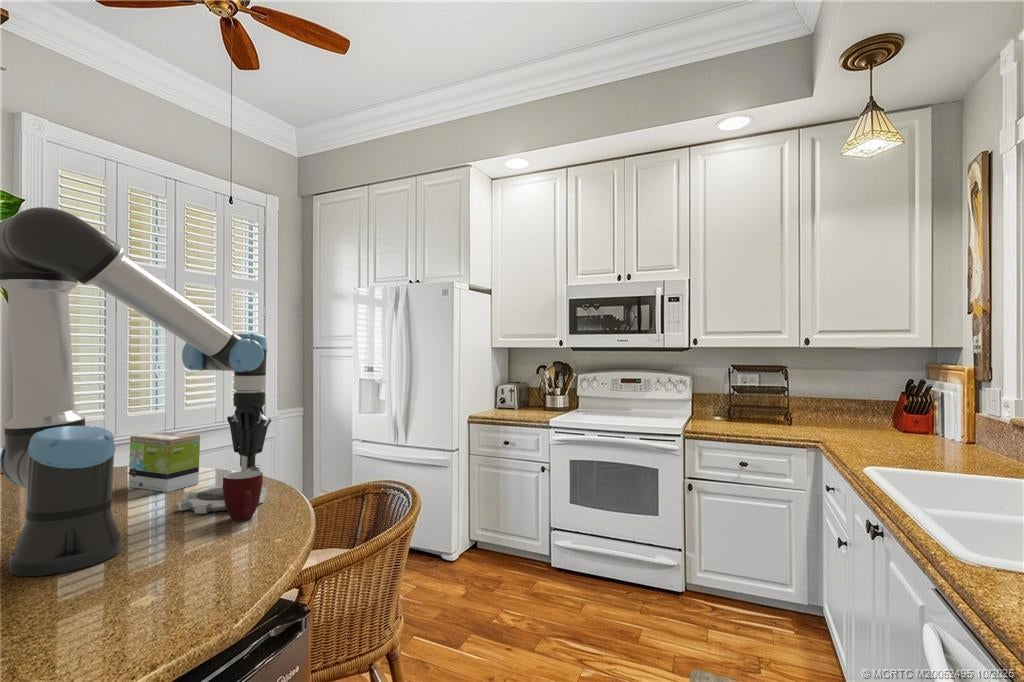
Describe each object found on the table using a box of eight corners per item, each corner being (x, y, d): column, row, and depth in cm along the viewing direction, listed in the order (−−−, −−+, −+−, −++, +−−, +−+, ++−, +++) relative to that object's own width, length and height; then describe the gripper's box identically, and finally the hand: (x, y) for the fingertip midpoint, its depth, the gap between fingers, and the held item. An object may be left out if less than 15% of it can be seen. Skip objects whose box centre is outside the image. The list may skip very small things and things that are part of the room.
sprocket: (178, 518, 110) (180, 483, 110) (177, 498, 126) (178, 467, 126) (272, 505, 121) (274, 472, 121) (261, 487, 137) (261, 459, 137)
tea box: (126, 488, 136) (128, 435, 137) (161, 480, 146) (163, 430, 146) (166, 493, 132) (168, 438, 133) (200, 484, 142) (201, 433, 142)
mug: (270, 521, 110) (272, 476, 111) (231, 529, 104) (232, 483, 105) (254, 510, 118) (256, 469, 118) (217, 518, 112) (218, 474, 112)
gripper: (279, 391, 132) (277, 478, 131) (243, 389, 136) (240, 474, 135) (257, 393, 125) (254, 485, 124) (219, 391, 129) (216, 480, 128)
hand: (247, 479), depth 130 cm, fingers closed
